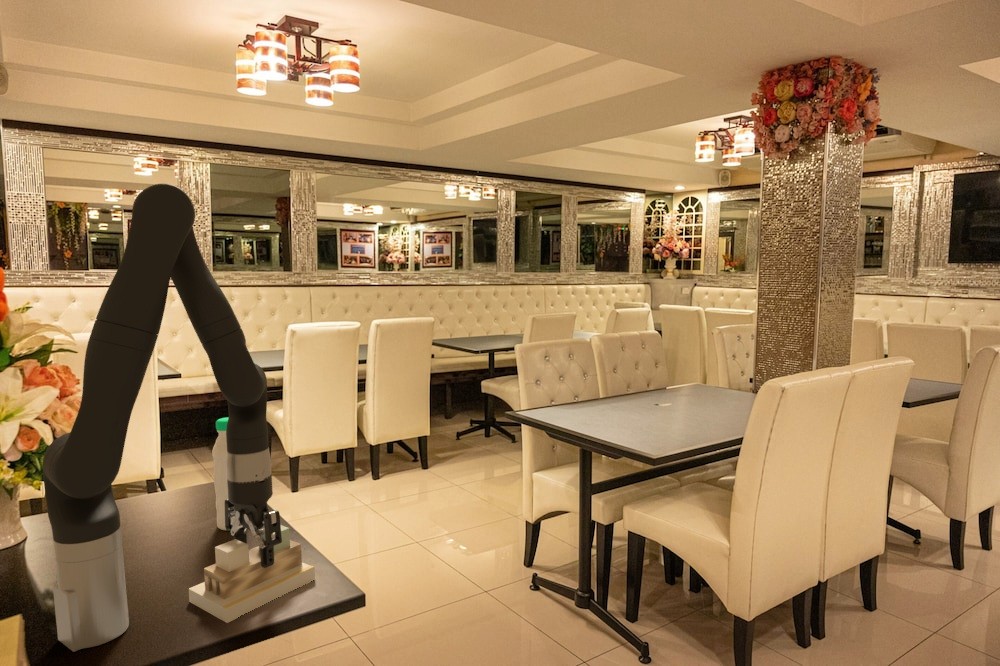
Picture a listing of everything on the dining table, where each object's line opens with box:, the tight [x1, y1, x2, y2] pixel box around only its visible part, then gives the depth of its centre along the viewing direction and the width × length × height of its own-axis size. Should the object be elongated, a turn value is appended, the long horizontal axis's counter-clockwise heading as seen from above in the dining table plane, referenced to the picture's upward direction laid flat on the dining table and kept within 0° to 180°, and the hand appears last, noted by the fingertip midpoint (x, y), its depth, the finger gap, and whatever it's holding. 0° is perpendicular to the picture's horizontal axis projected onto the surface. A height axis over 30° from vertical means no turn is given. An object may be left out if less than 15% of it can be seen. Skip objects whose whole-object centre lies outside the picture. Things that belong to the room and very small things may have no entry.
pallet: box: [203, 539, 303, 600], centre depth 121 cm, size 16×6×4 cm, turn 144°
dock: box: [188, 561, 316, 624], centre depth 121 cm, size 18×12×3 cm, turn 144°
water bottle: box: [211, 416, 235, 531], centre depth 150 cm, size 7×7×25 cm
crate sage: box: [258, 524, 291, 553], centre depth 124 cm, size 4×4×4 cm
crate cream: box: [214, 538, 250, 572], centre depth 117 cm, size 4×4×4 cm
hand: (254, 559), depth 120 cm, fingers open, 8 cm apart
